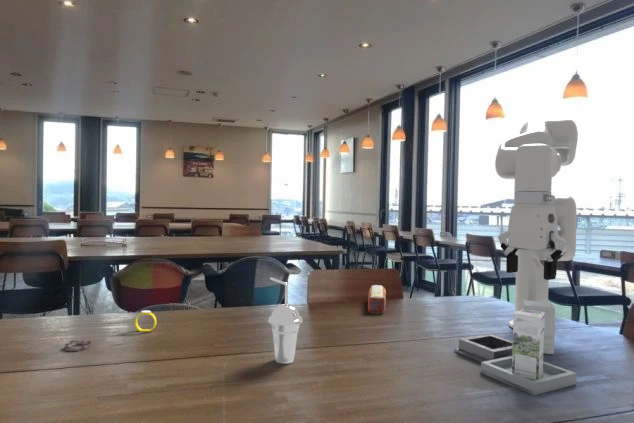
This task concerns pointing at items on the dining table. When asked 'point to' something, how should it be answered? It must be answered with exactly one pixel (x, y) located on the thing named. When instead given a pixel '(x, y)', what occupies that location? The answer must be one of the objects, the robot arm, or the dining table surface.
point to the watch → (145, 312)
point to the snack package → (377, 299)
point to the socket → (485, 347)
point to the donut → (77, 346)
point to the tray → (548, 381)
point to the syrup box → (528, 343)
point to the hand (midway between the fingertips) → (530, 275)
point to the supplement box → (549, 322)
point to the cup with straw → (285, 329)
